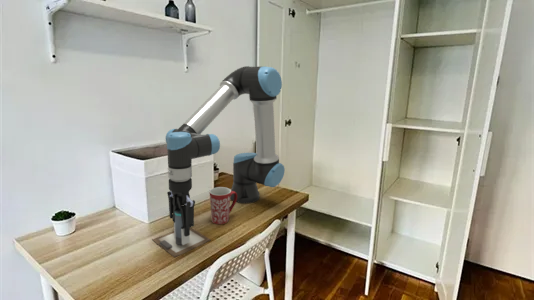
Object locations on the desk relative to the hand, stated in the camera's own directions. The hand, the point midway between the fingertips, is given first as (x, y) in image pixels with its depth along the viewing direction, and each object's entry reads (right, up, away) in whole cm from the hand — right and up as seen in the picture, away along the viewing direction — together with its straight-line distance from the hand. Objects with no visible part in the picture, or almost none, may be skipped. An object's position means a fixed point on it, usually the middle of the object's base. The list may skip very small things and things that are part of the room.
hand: (181, 240), depth 104 cm
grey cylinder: (0, -1, 0) cm, 1 cm away
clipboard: (-1, -1, +4) cm, 5 cm away
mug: (+12, +2, +22) cm, 25 cm away
